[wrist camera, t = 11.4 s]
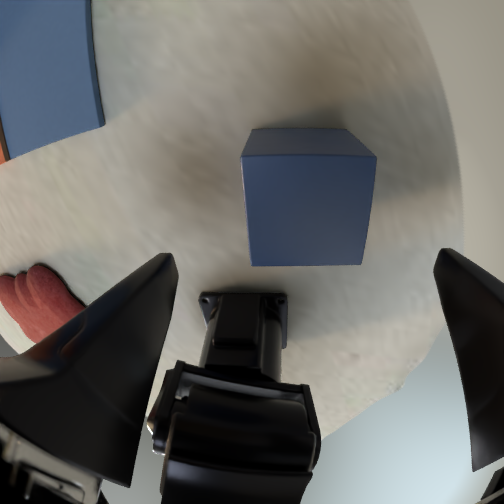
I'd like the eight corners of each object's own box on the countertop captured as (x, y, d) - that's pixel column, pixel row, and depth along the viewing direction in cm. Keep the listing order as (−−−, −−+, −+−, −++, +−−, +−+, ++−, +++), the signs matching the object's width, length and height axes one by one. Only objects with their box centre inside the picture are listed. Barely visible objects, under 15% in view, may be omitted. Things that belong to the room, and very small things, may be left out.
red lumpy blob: (55, 258, 20) (43, 272, 19) (127, 354, 28) (121, 368, 27) (-12, 275, 24) (-20, 285, 22) (44, 346, 32) (39, 356, 30)
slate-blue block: (342, 212, 16) (361, 265, 12) (257, 213, 17) (250, 267, 13) (347, 129, 13) (377, 156, 9) (251, 129, 14) (239, 156, 10)
